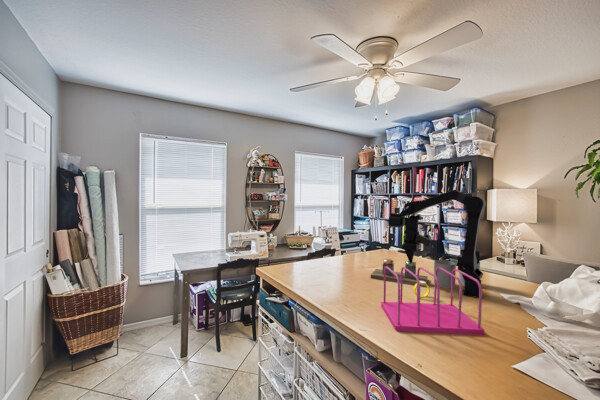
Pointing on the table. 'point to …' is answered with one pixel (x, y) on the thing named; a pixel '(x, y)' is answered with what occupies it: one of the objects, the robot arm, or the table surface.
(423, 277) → the dark brown stand
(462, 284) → the glass holder
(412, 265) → the olive plunger
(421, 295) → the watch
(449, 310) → the file sorter
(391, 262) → the terracotta plunger
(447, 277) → the cup
